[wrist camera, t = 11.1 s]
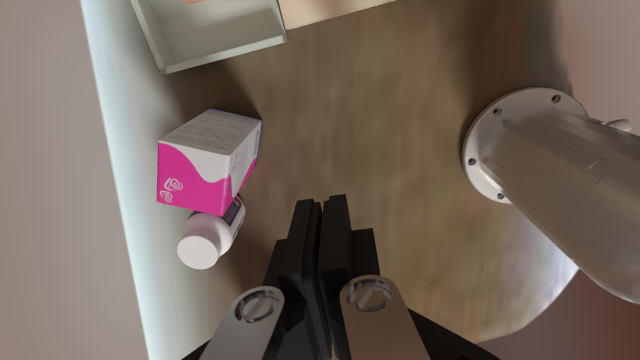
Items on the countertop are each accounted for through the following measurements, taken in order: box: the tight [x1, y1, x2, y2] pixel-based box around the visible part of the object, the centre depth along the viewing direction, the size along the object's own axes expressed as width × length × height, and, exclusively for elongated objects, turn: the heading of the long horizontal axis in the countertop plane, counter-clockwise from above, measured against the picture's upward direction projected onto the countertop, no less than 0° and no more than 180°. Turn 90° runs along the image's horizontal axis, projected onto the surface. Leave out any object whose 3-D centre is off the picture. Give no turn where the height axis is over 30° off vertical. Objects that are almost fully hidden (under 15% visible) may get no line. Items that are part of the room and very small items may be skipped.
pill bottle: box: [177, 195, 245, 269], centre depth 36 cm, size 5×5×9 cm
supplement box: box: [157, 108, 263, 216], centre depth 32 cm, size 6×6×12 cm
